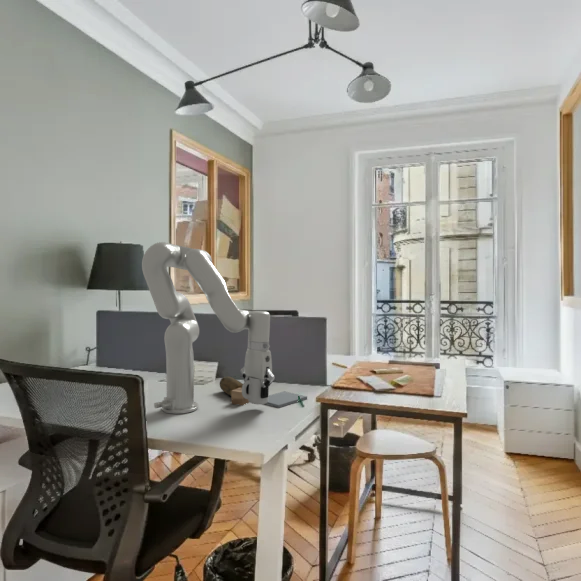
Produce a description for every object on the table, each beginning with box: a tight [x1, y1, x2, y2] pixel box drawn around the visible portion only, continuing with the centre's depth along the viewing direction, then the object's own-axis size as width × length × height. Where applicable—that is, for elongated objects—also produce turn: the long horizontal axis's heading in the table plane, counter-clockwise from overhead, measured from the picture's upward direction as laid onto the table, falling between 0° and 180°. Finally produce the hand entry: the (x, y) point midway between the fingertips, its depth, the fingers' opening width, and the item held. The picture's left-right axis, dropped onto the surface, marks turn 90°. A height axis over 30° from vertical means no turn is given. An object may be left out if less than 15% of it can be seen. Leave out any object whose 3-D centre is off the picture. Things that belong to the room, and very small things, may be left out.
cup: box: [242, 377, 270, 405], centre depth 163 cm, size 7×10×9 cm
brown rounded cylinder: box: [219, 376, 243, 397], centre depth 184 cm, size 15×7×7 cm, turn 36°
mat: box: [264, 390, 308, 409], centre depth 176 cm, size 16×12×1 cm
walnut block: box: [231, 388, 250, 406], centre depth 172 cm, size 5×5×5 cm
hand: (256, 395), depth 163 cm, fingers closed on cup, 7 cm apart
